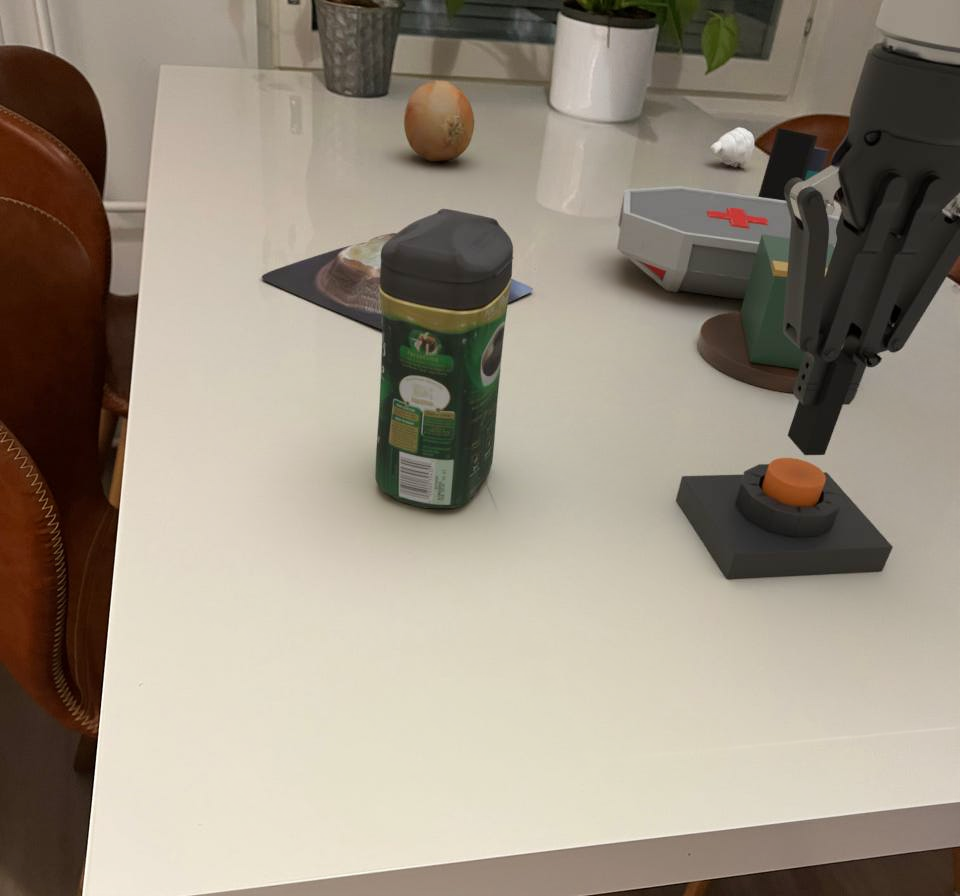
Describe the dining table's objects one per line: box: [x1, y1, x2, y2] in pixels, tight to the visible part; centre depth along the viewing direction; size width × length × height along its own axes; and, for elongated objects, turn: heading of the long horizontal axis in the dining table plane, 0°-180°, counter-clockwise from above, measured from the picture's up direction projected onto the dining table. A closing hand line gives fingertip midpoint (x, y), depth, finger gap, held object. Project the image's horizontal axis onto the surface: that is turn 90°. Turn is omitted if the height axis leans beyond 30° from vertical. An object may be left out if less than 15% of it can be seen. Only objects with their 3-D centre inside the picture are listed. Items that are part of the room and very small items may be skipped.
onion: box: [403, 80, 475, 162], centre depth 136 cm, size 10×10×10 cm
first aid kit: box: [616, 185, 840, 301], centre depth 109 cm, size 18×8×25 cm
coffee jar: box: [374, 208, 514, 509], centre depth 68 cm, size 10×8×19 cm
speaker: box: [757, 127, 830, 201], centre depth 133 cm, size 8×6×10 cm
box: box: [739, 235, 835, 369], centre depth 93 cm, size 12×7×9 cm, turn 173°
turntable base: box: [696, 311, 843, 394], centre depth 97 cm, size 16×16×2 cm
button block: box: [675, 463, 894, 581], centre depth 71 cm, size 12×10×4 cm
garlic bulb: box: [710, 127, 755, 168], centre depth 150 cm, size 6×6×5 cm
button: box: [762, 457, 826, 507], centre depth 69 cm, size 4×4×2 cm
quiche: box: [261, 232, 534, 330], centre depth 101 cm, size 21×20×4 cm
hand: (805, 444), depth 67 cm, fingers closed
